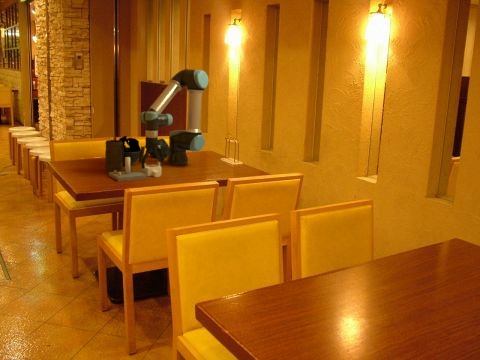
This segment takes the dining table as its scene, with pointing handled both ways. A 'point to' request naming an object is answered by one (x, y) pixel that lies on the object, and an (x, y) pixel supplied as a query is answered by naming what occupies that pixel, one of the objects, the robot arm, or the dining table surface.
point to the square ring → (153, 170)
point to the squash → (165, 149)
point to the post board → (129, 176)
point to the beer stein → (114, 155)
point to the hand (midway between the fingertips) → (151, 172)
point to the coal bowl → (131, 149)
